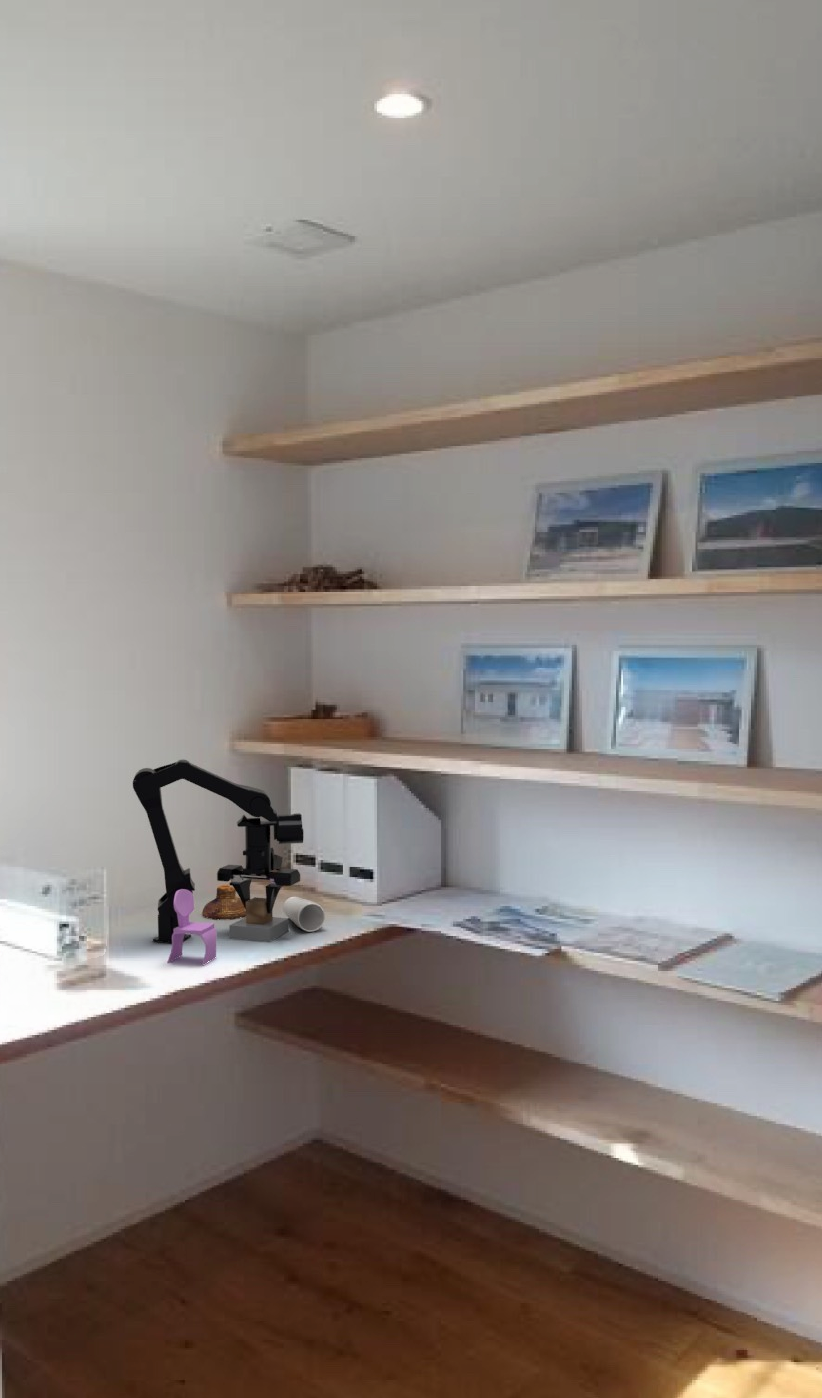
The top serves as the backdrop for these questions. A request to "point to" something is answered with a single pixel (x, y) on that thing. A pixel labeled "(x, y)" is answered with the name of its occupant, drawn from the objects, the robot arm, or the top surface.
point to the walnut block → (257, 911)
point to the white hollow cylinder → (304, 913)
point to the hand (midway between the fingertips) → (259, 912)
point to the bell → (225, 905)
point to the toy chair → (190, 927)
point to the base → (259, 930)
